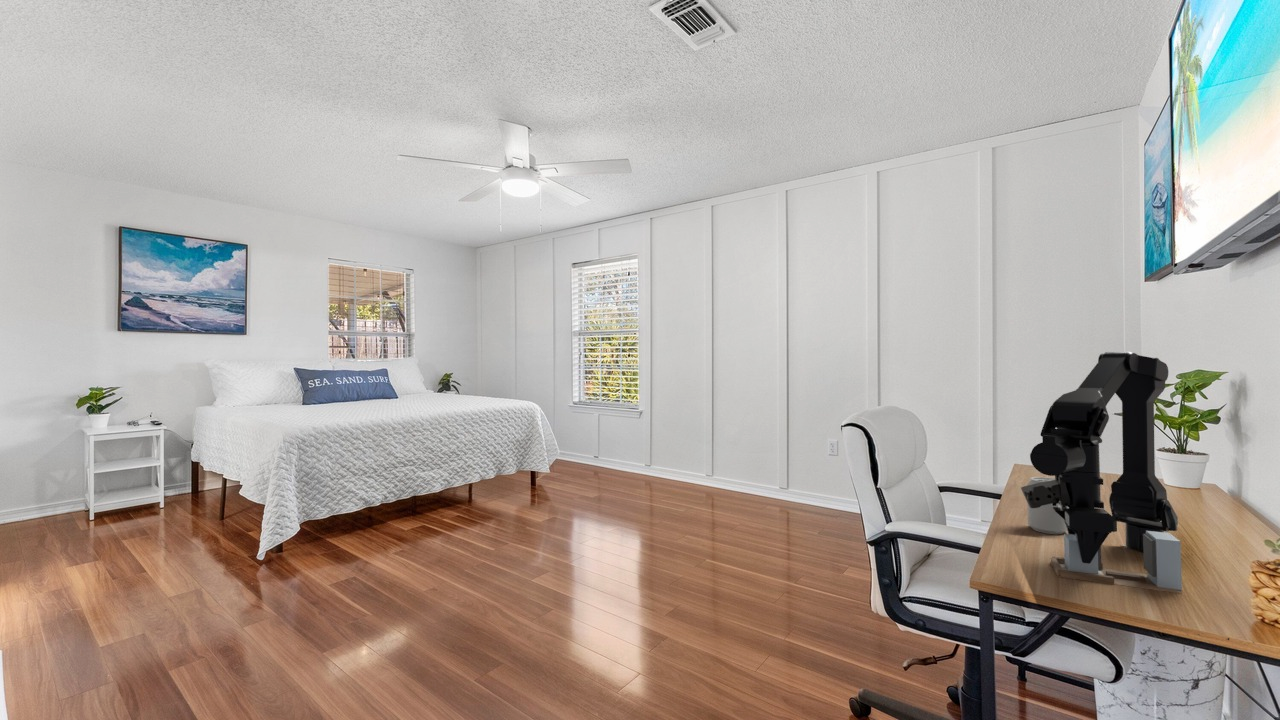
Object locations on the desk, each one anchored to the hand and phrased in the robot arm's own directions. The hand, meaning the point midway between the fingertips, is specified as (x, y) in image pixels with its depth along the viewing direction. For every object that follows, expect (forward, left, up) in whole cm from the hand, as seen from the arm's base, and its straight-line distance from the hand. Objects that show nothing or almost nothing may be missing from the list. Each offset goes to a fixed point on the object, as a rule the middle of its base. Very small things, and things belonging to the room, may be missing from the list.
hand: (1081, 556), depth 97 cm
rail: (0, +4, -4) cm, 6 cm away
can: (-33, 0, -4) cm, 33 cm away
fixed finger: (0, +11, -3) cm, 11 cm away
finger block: (0, 0, -3) cm, 3 cm away
